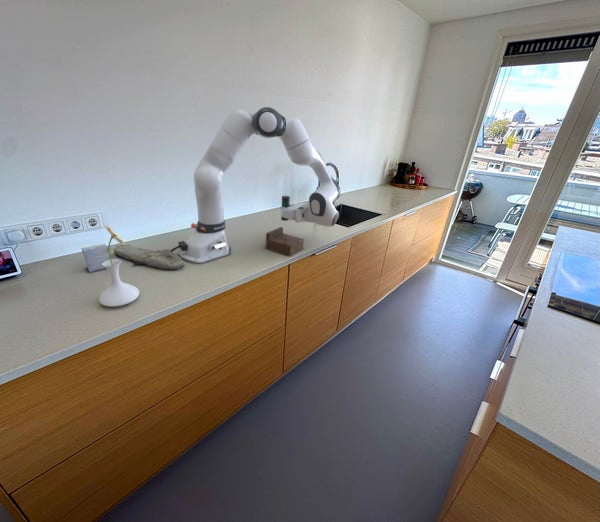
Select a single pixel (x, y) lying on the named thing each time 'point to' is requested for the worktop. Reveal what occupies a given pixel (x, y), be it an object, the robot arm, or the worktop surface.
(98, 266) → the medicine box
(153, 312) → the worktop surface
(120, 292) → the flower in vase
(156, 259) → the long grey stone
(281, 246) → the stand
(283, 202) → the marker
